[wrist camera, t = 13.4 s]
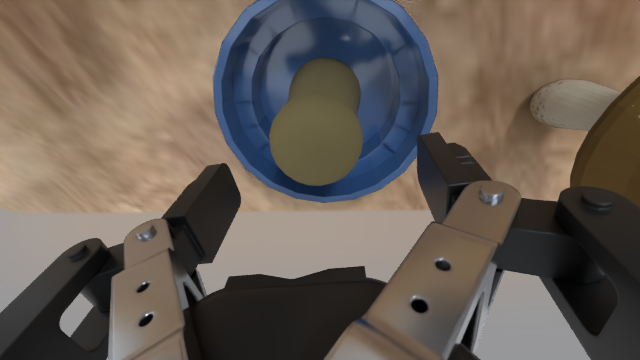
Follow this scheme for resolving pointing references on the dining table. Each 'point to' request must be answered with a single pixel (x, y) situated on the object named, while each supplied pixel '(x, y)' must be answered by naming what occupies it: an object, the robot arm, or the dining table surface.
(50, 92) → the dining table surface
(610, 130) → the mushroom
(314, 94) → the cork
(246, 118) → the bowl
